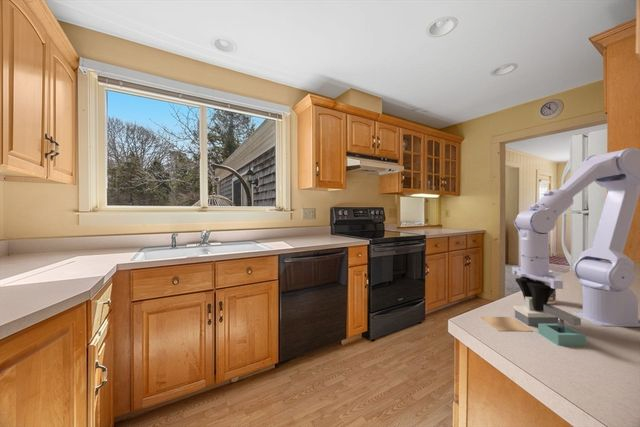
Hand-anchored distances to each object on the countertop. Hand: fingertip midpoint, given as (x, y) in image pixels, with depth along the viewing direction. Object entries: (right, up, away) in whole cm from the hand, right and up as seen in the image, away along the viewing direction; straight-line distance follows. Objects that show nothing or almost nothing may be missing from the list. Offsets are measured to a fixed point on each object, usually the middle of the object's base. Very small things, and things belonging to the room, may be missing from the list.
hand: (535, 308), depth 67 cm
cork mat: (-8, -4, -1) cm, 9 cm away
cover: (0, -1, 0) cm, 1 cm away
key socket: (-2, -4, -9) cm, 10 cm away
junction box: (0, -4, 0) cm, 4 cm away
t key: (-2, -4, -9) cm, 10 cm away
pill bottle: (+15, -3, +14) cm, 21 cm away
